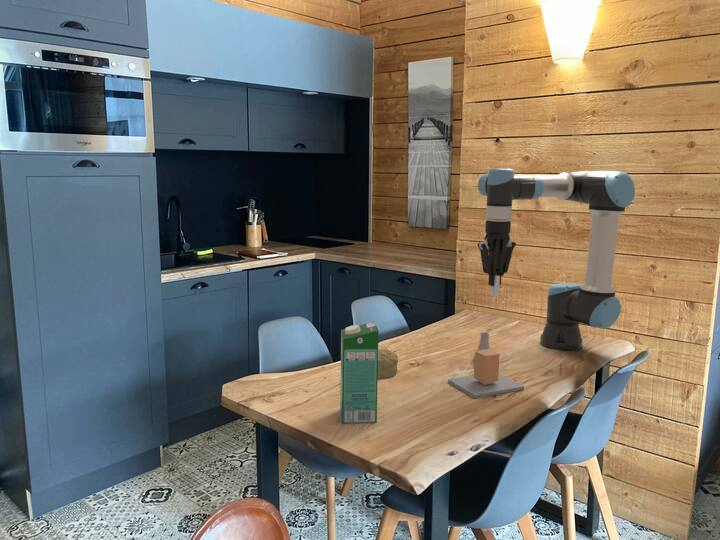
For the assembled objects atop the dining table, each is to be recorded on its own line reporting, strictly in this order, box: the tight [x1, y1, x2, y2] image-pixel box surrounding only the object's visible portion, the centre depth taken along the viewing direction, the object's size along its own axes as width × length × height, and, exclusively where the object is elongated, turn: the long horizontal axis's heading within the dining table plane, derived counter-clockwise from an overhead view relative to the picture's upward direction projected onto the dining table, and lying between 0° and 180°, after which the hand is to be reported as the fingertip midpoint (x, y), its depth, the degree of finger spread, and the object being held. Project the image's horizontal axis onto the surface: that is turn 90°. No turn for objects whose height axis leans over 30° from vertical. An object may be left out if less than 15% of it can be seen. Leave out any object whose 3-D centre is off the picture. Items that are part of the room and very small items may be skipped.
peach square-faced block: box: [473, 348, 501, 383], centre depth 184 cm, size 5×5×9 cm
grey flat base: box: [447, 372, 525, 399], centre depth 185 cm, size 18×14×10 cm
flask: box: [472, 331, 491, 363], centre depth 207 cm, size 7×7×10 cm
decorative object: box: [378, 348, 399, 379], centre depth 195 cm, size 9×10×10 cm
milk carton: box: [339, 321, 379, 424], centre depth 160 cm, size 9×9×25 cm
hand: (494, 295), depth 189 cm, fingers closed
